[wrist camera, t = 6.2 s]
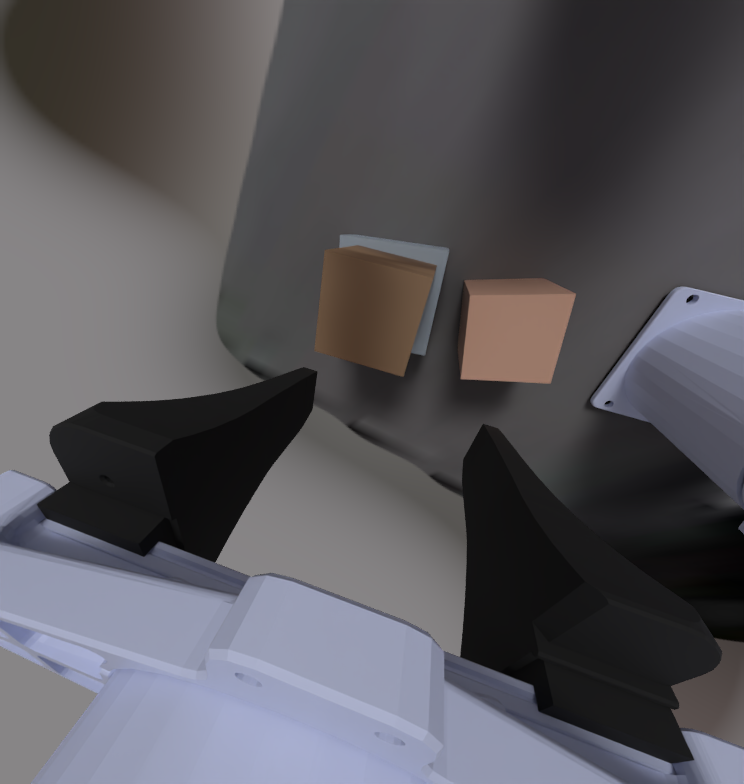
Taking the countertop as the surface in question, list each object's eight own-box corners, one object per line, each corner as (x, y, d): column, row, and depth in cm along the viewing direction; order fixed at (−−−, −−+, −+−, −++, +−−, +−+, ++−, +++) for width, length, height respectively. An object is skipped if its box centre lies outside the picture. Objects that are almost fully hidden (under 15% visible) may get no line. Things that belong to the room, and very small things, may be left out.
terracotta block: (543, 277, 17) (576, 293, 13) (526, 349, 19) (550, 383, 15) (464, 279, 18) (470, 295, 13) (457, 347, 20) (460, 379, 16)
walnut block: (437, 265, 15) (433, 278, 11) (413, 341, 18) (403, 377, 13) (357, 245, 16) (324, 250, 11) (345, 322, 18) (314, 350, 14)
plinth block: (448, 247, 17) (449, 250, 15) (427, 339, 20) (424, 355, 18) (355, 234, 18) (340, 234, 16) (348, 324, 21) (334, 337, 19)
